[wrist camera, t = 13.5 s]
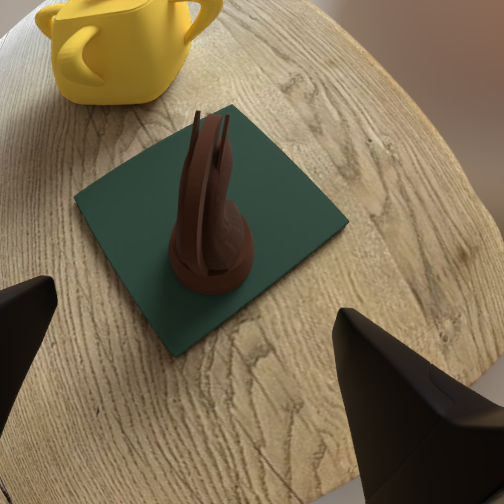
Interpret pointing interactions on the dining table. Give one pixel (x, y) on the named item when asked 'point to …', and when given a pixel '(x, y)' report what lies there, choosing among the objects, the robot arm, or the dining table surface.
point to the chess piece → (209, 216)
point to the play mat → (165, 215)
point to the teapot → (120, 46)
